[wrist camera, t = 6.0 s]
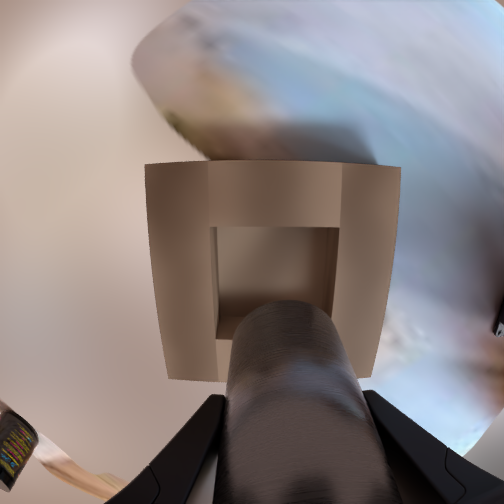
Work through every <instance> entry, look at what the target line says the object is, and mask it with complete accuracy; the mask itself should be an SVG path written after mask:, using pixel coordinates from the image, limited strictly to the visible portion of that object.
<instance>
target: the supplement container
mask: <svg viewBox="0 0 504 504" xmlns="http://www.w3.org/2000/svg"><path fill="white" fill-rule="evenodd" d="M38 442H39V439H38V435H37V433H36V432H35V430H34V429H33V427H32V426H31V425H30V424H29V423H28V422H27V421H26V420H25V419H23V418H22V417H21V416H19V415H18V414H16V413H15V412H12V411H3V412H2V413H1V414H0V489H2V490H4V491H6V492H10V491H11V489H12V487H13V486H14V484H15V482H16V480H17V478H18V477H19V475H20V473H21V471H22V470H23V468H24V466H25V465H26V463H27V461H28V460H29V458H30V457H31V455H32V453H33V452H34V450H35V448H36V447H37V445H38Z"/></svg>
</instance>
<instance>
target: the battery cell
mask: <svg viewBox="0 0 504 504" xmlns="http://www.w3.org/2000/svg"><path fill="white" fill-rule="evenodd" d="M212 504H403V501H402V498H401V496H400V493H399V490H398V487H397V484H396V481H395V478H394V475H393V472H392V469H391V467H390V464H389V461H388V458H387V455H386V453H385V450H384V447H383V445H382V442H381V439H380V436H379V434H378V431H377V428H376V426H375V423H374V421H373V418H372V415H371V413H370V410H369V408H368V405H367V402H366V400H365V397H364V395H363V392H362V390H361V387H360V385H359V382H358V380H357V377H356V375H355V372H354V370H353V367H352V365H351V363H350V360H349V358H348V355H347V353H346V351H345V348H344V346H343V343H342V341H341V339H340V336H339V334H338V332H337V329H336V327H335V325H334V323H333V321H332V320H331V318H330V317H329V316H328V315H327V314H326V313H325V312H324V311H323V310H321V309H320V308H318V307H317V306H315V305H312V304H310V303H307V302H304V301H298V300H280V301H274V302H271V303H267V304H265V305H262V306H260V307H258V308H256V309H255V310H253V311H252V312H250V313H249V314H248V315H247V316H246V317H245V318H244V319H243V320H242V321H241V322H240V324H239V325H238V327H237V329H236V330H235V333H234V336H233V340H232V347H231V355H230V363H229V371H228V378H227V386H226V394H225V403H224V411H223V419H222V427H221V434H220V442H219V451H218V459H217V467H216V475H215V484H214V492H213V501H212Z"/></svg>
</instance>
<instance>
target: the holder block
mask: <svg viewBox="0 0 504 504" xmlns="http://www.w3.org/2000/svg"><path fill="white" fill-rule="evenodd" d="M400 180H401V167H393V166H383V165H372V164H359V163H343V162H324V161H297V160H217V161H189V162H172V163H158V164H157V163H156V164H145V188H146V206H147V221H148V233H149V245H150V256H151V265H152V274H153V283H154V291H155V298H156V306H157V313H158V320H159V327H160V333H161V339H162V345H163V351H164V357H165V362H166V368H167V373H168V378H169V379H177V380H191V381H208V382H227V378H228V371H229V363H230V355H231V347H232V340H233V336H234V333H235V330H236V329H237V327H238V325H239V324H240V322H241V321H242V320H243V319H244V318H245V317H246V316H247V315H248V314H249V313H250V312H252V311H253V310H255V309H256V308H258V307H260V306H262V305H265V304H267V303H271V302H274V301H280V300H298V301H304V302H307V303H310V304H312V305H315V306H317V307H318V308H320V309H321V310H323V311H324V312H325V313H326V314H327V315H328V316H329V317H330V318H331V320H332V321H333V323H334V325H335V327H336V329H337V332H338V334H339V336H340V339H341V341H342V343H343V346H344V348H345V351H346V353H347V355H348V358H349V360H350V363H351V365H352V367H353V370H354V372H355V375H356V377H357V378H368V377H371V374H372V370H373V366H374V362H375V358H376V353H377V349H378V345H379V340H380V335H381V331H382V326H383V321H384V315H385V310H386V304H387V299H388V293H389V287H390V280H391V273H392V266H393V259H394V251H395V242H396V233H397V223H398V211H399V198H400Z"/></svg>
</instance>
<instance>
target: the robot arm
mask: <svg viewBox="0 0 504 504" xmlns="http://www.w3.org/2000/svg"><path fill="white" fill-rule="evenodd" d="M494 335H495V336H496V337H501V336H504V301H503V304H502V308H501V311H500V314H499V318H498V321H497V324H496V327H495V330H494ZM362 392H363V395H364V397H365V400H366V402H367V405H368V408H369V410H370V413H371V415H372V418H373V421H374V423H375V426H376V428H377V431H378V434H379V436H380V439H381V442H382V445H383V447H384V450H385V453H386V455H387V458H388V461H389V464H390V467H391V469H392V472H393V475H394V478H395V481H396V484H397V487H398V490H399V493H400V496H401V498H402V501H403V504H504V481H503V480H501V479H499V478H497V477H495V476H494V475H492V474H490V473H488V472H486V471H484V470H483V469H480V468H479V467H477V466H476V465H474V464H472V463H471V462H469V461H467V460H466V459H464V458H463V457H461V456H460V455H459V454H457V453H456V452H454V451H453V450H452V449H450V448H449V447H448V448H447V446H446V445H445V444H443V443H442V442H441V441H439V440H438V439H437V438H435V437H434V436H433V435H431V434H430V433H429V432H427V431H426V430H425V429H423V428H422V427H421V426H419V425H418V424H417V423H415V422H414V421H413V420H411V419H410V418H409V417H407V416H406V415H405V414H404V413H402V412H401V411H400V410H398V409H397V408H396V407H394V406H393V405H392V404H391V403H389V402H388V401H387V400H385V399H384V398H383V397H382V396H380V395H379V394H378V393H376V392H375V391H374V390H365V391H362ZM224 403H225V396H224V395H217V394H212V395H210V396H209V397H208V398H207V400H206V401H205V402H204V403H203V404H202V405H201V407H200V408H199V409H198V410H197V411H196V412H195V413H194V415H193V416H192V417H191V418H190V419H189V420H188V421H187V423H186V424H185V425H184V426H183V427H182V428H181V429H180V431H179V432H178V433H177V434H176V435H175V436H174V437H173V438H172V439H171V441H170V442H169V443H168V444H167V445H166V446H165V447H164V448H163V449H162V451H161V452H159V454H158V455H157V456H156V457H155V458H154V459H153V460H152V461H151V462H150V463H149V466H146V467H145V469H143V471H142V472H141V473H140V474H139V475H138V476H137V477H136V478H135V479H134V480H132V481H131V482H130V483H129V484H128V485H127V486H126V487H125V488H123V489H122V490H121V491H120V492H118V493H117V494H116V495H115V496H113V497H112V498H111V499H109V500H108V501H107V502H105V503H104V504H212V501H213V492H214V484H215V475H216V467H217V459H218V451H219V442H220V434H221V427H222V419H223V411H224Z"/></svg>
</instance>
